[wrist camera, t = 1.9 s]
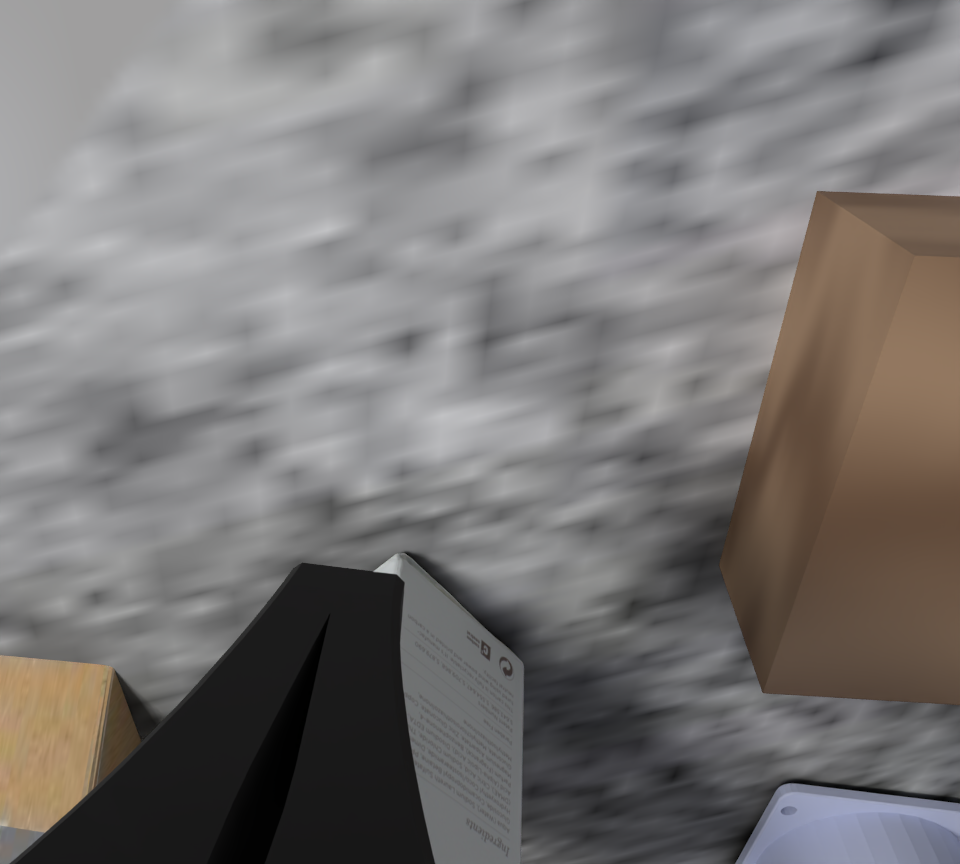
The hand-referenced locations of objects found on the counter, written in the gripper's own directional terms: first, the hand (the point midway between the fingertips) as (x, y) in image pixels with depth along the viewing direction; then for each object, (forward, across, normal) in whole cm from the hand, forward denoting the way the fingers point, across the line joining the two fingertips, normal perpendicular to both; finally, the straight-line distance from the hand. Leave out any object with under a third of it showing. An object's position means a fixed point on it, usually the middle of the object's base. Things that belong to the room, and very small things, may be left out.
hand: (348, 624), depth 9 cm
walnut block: (+9, -12, 0) cm, 15 cm away
